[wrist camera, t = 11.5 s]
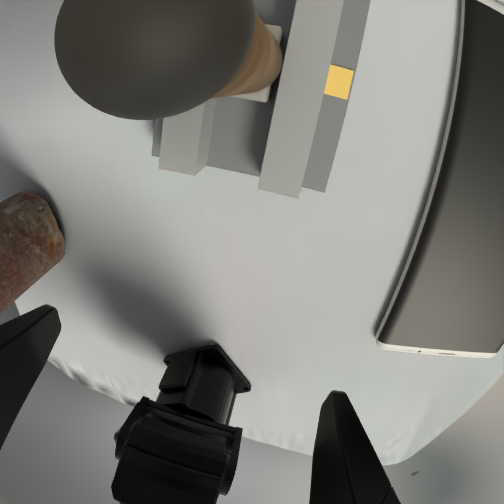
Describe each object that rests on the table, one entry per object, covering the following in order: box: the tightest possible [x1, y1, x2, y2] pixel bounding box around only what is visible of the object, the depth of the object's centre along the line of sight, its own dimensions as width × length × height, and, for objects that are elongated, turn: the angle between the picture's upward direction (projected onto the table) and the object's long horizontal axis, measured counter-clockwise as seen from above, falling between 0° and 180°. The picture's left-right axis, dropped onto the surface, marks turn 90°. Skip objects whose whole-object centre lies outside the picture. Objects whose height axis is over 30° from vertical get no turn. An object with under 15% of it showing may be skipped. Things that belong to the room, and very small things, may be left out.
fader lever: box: [55, 0, 284, 120], centre depth 8 cm, size 4×4×13 cm
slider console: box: [152, 0, 370, 199], centre depth 13 cm, size 17×10×4 cm, turn 170°
